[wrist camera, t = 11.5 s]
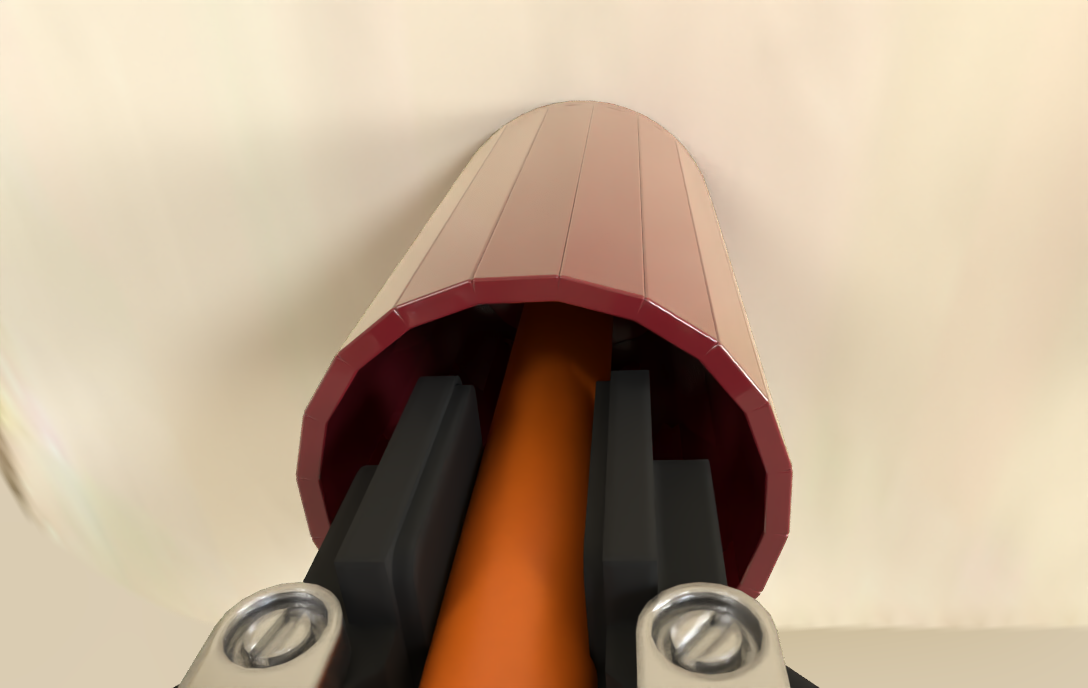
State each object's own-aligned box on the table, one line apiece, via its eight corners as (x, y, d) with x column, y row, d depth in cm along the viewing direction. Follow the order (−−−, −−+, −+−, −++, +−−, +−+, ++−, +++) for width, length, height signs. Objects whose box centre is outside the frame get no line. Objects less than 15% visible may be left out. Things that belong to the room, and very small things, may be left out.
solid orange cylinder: (526, 253, 18) (366, 765, 7) (612, 248, 17) (584, 770, 7) (533, 330, 18) (399, 896, 8) (616, 327, 18) (596, 905, 7)
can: (436, 109, 21) (245, 289, 10) (714, 90, 20) (805, 264, 10) (470, 353, 24) (345, 681, 13) (712, 345, 23) (781, 687, 12)
